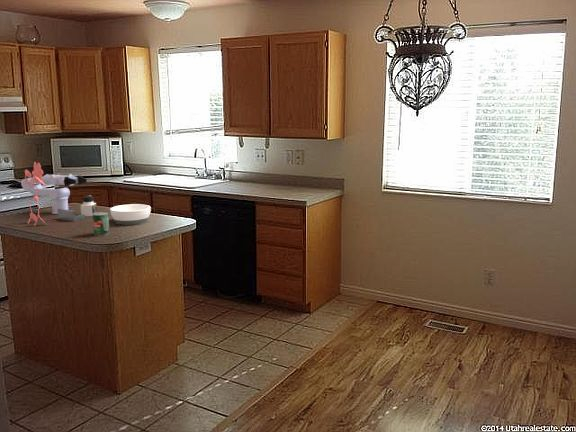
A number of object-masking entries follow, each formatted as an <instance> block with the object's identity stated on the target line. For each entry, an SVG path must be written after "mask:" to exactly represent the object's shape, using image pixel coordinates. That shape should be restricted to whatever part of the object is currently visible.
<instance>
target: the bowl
mask: <svg viewBox="0 0 576 432" xmlns="http://www.w3.org/2000/svg"><path fill="white" fill-rule="evenodd" d="M151 211H152V207H151V206H150V205H148V204H141V203H130V204H121V205H114V206H113V207H112V206H111V207H110V209H109V212H110V216H111V218H112V219H113V221H114V222H115V224H117V225H120V224H122V225H123V226H131V225H134V226H135V225H140V224H144V223H146V222H147V221H148V219H149V217H150V214H151ZM122 225H121V226H122Z"/></svg>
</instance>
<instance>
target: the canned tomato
mask: <svg viewBox="0 0 576 432" xmlns="http://www.w3.org/2000/svg"><path fill="white" fill-rule="evenodd" d="M92 215H93V216H92V225H93V226H92V227H93V235H94V236H96V235H97V236H98V237H101V236H102V235H103V236H108V235H110V232H111V231H110V221H109V220H110V219H109V212H108V211H97V212H96V213H93V214H92ZM103 236H102V237H103Z"/></svg>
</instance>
